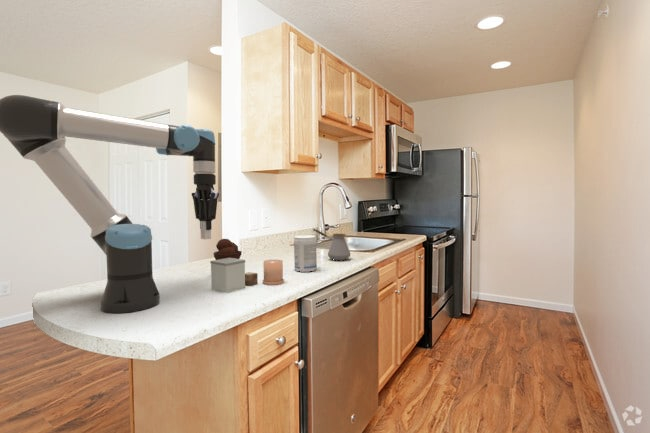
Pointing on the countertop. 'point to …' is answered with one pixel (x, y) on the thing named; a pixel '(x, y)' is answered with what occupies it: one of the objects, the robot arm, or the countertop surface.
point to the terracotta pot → (273, 272)
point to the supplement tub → (305, 253)
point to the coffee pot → (337, 247)
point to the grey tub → (227, 274)
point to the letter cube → (251, 279)
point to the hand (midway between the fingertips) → (206, 238)
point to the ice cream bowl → (227, 250)
